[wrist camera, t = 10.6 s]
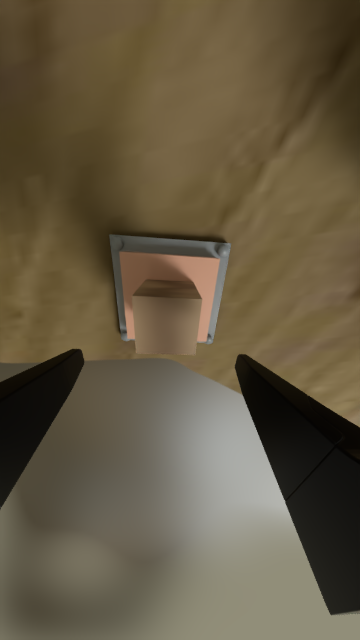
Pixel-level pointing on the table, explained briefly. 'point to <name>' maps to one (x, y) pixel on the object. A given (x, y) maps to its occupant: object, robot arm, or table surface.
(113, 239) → the brick base
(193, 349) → the tan wooden block
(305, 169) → the table surface
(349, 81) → the table surface
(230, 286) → the table surface
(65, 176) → the table surface
